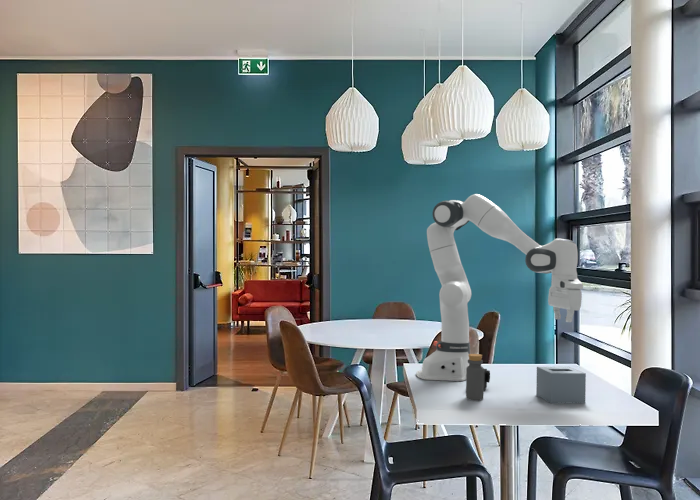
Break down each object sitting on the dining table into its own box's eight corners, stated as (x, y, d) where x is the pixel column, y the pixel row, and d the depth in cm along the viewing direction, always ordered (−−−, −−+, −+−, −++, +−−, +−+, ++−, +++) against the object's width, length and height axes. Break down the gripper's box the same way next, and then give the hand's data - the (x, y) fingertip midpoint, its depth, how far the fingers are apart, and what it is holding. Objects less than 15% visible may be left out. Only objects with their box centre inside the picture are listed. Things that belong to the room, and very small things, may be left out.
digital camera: (485, 393, 209) (485, 373, 209) (470, 391, 211) (470, 372, 211) (490, 387, 219) (490, 368, 219) (475, 386, 221) (475, 367, 221)
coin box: (550, 403, 196) (551, 373, 196) (536, 394, 207) (536, 366, 208) (585, 403, 197) (585, 373, 197) (568, 394, 209) (569, 366, 209)
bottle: (480, 401, 196) (480, 356, 197) (463, 399, 199) (464, 355, 200) (485, 398, 201) (486, 354, 201) (469, 395, 204) (470, 352, 205)
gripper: (544, 281, 224) (543, 317, 224) (567, 284, 204) (566, 323, 204) (560, 281, 224) (559, 317, 224) (585, 284, 204) (584, 324, 204)
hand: (563, 320), depth 214 cm, fingers open, 8 cm apart
